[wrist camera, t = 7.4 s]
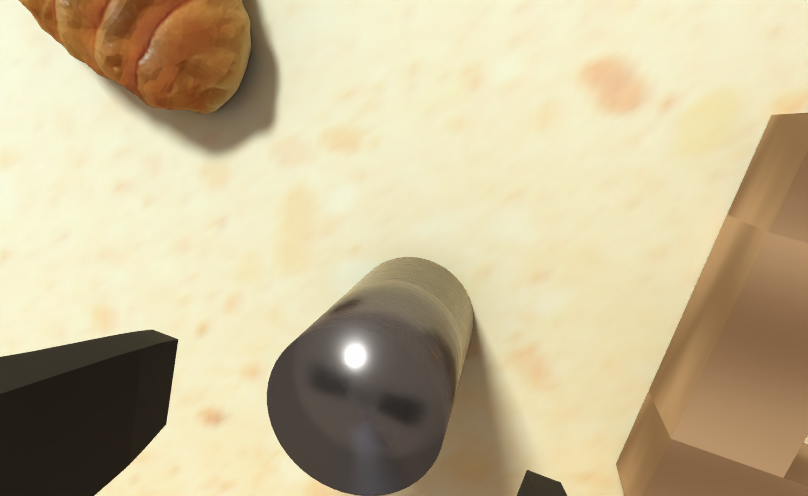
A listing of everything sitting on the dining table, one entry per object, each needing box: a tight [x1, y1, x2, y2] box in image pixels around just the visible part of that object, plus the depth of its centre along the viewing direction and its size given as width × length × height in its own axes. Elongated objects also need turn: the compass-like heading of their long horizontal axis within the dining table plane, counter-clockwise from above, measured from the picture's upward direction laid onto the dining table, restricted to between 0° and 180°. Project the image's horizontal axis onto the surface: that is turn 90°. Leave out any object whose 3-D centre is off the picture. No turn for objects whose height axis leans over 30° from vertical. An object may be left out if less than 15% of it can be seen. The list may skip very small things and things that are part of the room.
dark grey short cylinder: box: [267, 257, 474, 496], centre depth 14 cm, size 4×4×6 cm
